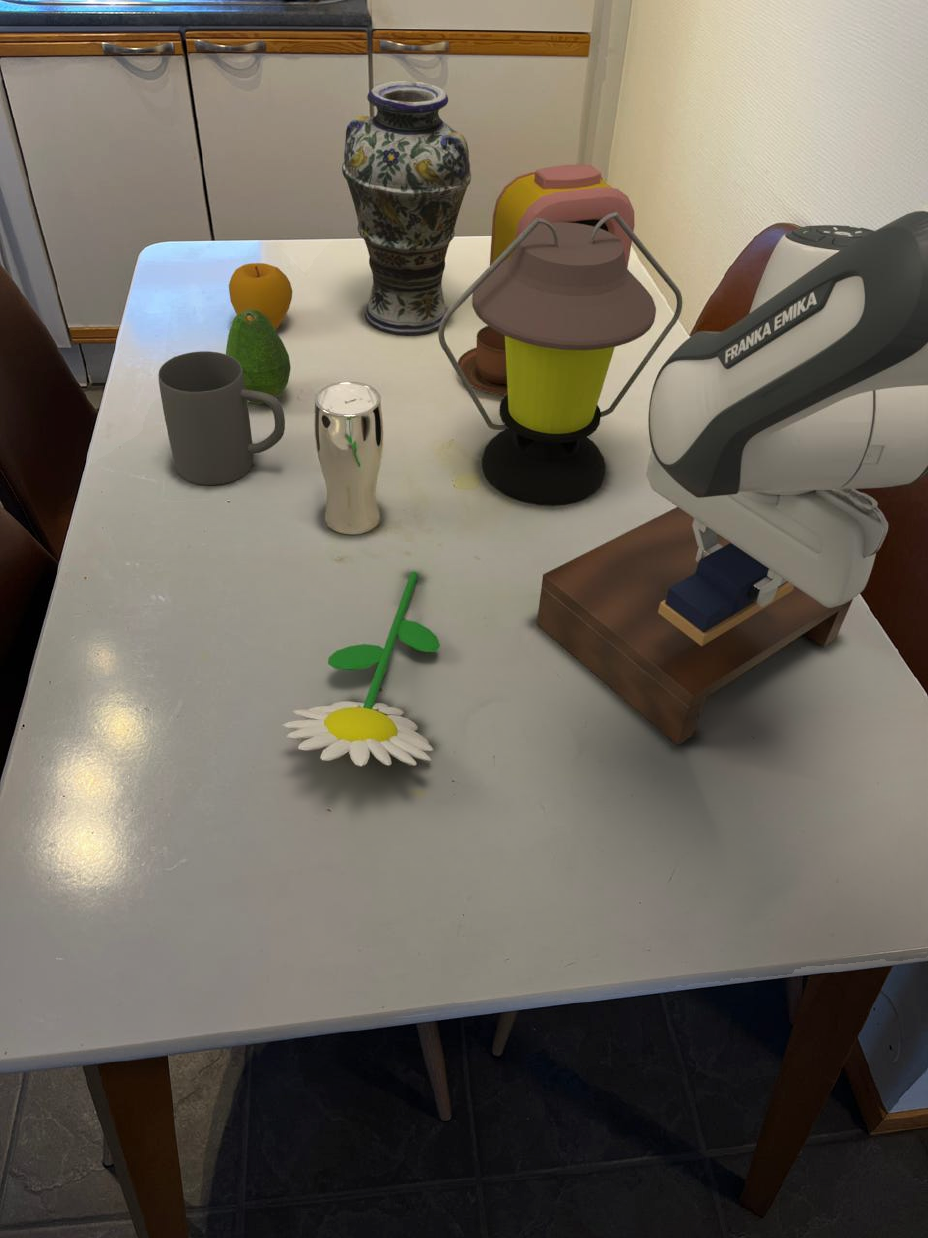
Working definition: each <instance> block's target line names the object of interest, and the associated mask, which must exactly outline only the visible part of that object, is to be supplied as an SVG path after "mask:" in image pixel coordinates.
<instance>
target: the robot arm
mask: <svg viewBox="0 0 928 1238" xmlns="http://www.w3.org/2000/svg"><path fill="white" fill-rule="evenodd" d="M647 421H648V436H649V437H648V438H649V442H650V446H651V451H650V454H649V459H648V464H647V468H646V477H647V481H648V483H649V486H650V489H651V490H652V491H654V492H655V493H657V494H658V495H659V496H661V497H663V498H664V499H665V500H667V501H668V502H669V503H671V504H673V505H674V506H676V507H679V508H680V509H682V510H683V511H685V512H686V513H688V514H689V515H691V516H692V517H693V518H694V521H693V524H692V526H693V530H694V534H695V537H696V541H697V545H698V546H699V548H698V552H697V556H696V561H697V562H699V560H700V559H702V558H704V557H706V556H707V555H709V554H711V553H713V552H715V551H717V550H718V549H720V548H722V547H723V546H721V545H720V544H719V543H718V536H717V534H719V535H720V536H722V537H723V538H725V539H726V540H727V541H729V542H730V543H732V544H733V545H735V546H736V547H738V548H739V549H741V550H742V551H744V552H745V553H747V554H748V555H750V556H751V557H753V558H754V559H756V560H757V561H758V562H760V563H761V564H763V565H764V566H766V567H767V568H769V571H768V574H767V576H768V577H769V578H768V577H767V576H764V577H763V578H761V579H760V580H759V581H756V582H754V583H752V585H751V588H750V593H749V594H748V598H749V599H750V600H752V601H753V602H754V603H756V604H757V605H759V606H760V607H764V606H765V605H767V604H768V603H770V602H771V601H772V600H773V599H774V597H775V594H776V591H777V589H778V587H779V586H780V585H782V584H784V583H785V582H787V581H788V582H790V583H791V584H792V585H794V586H795V587H797V588H798V589H800V590H801V591H803V592H804V593H806V594H807V595H809V596H810V597H812V598H813V599H815V600H816V601H817V602H819V603H820V604H822V605H823V606H825V607H828V608H832V607H836V606H840V605H843V604H845V603H847V602H849V601H850V600H852V599H853V600H854V599H855V598H856V597H858V596H859V595H860V594H861V593H862V592H863V591H864V590H865V588H866V587H867V584H868V582H869V579H870V575H871V574H872V570H873V567H874V563H875V559H876V556H877V553H878V552H879V550H881V547H882V545H883V542H884V541H885V539H886V536H887V534H888V532H889V531H888V530H889V522H888V521H887V518H886V517H885V515H884V513H883V512H882V510H881V509H879V507H878V505H879V504H878V501H877V500H876V499H875V498H873V497H872V496H870V495H869V494H867V493H866V492H861V491H859V490H860V489H861V490H863V489H882V488H883V489H885V488H893V487H899V486H909V485H912V484H914V483H916V482H917V481H918V480H920V479H921V478H923V477H924V476H925V475H926V474H927V473H928V203H927V204H925V205H923V206H921V207H919V208H917V209H916V210H914V211H913V212H909V213H906V214H904V215H902V216H900V217H899V218H896V219H894V220H892V221H891V222H889V223H887V224H885V225H884V226H882V227H879V228H878V229H876V230H874V229H871V228H870V229H869V228H865V227H856V226H850V225H837V224H835V225H833V224H832V225H831V224H823V225H821V224H820V225H819V224H818V225H806V226H801V227H799V228H798V227H797V228H795V229H793V230H791V231H788V232H786V233H785V234H783V235H782V237H781V238H780V239H779V241H778V242H777V244H776V245H775V247H774V249H773V251H772V253H771V254H770V257H769V259H768V261H767V264H766V266H765V269H764V271H763V273H762V276H761V279H760V281H759V284H758V287H757V289H756V292H755V294H754V298H753V300H752V304H751V306H750V310H749V313H748V314H747V315H745V316H744V317H743V318H741V319H740V320H738V321H737V322H736V323H734V324H733V325H731V326H730V327H728V328H726V329H724V330H723V331H711V330H710V331H709V330H707V331H706V330H699V331H695V333H693V335H690V337H688V338H687V339H686V340H685V341H683V342H682V343H681V344H680V345H679V346H678V347H677V349H675V350H674V351H673V352H672V353H671V354H670V356H669V357H668V359H667V360H666V361H665V362H664V363H663V364H662V366H661V368H660V369H659V371H658V373H657V375H656V377H655V379H654V383H653V385H652V390H651V394H650V398H649V405H648V420H647ZM858 489H859V490H858ZM770 578H771V579H773V580H771V579H770Z"/></svg>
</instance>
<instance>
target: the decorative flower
mask: <svg viewBox="0 0 928 1238" xmlns="http://www.w3.org/2000/svg"><path fill="white" fill-rule="evenodd" d="M418 577H419V573H418V572H417V571H411V572H410V574H409V577H408V579H407V582H406V586H405V588H404V591H403V594H402V596H401V600H400V602H399V604H398V608H397V611H396V613H395V616H394V619H393V621H392V625H391V627H390V631H389V632H388V636H387V639H386V641H385V644H384V647H382V646H381V645H376V644H367V643H364V644H355V645H350V646H347V647H344V648H341V649H338V650H336V651H334V652H333V653H332V654H331V655H330V656H329V657H328V660H327V665H328V666H330V667H331V668H333V669H335V670H341V671H358V670H363V669H364V670H365V669H367V668H370V667H373V666H376V665H377V667H376V669H375V672H374V675H373V678H372V681H371V684H370V687H369V689H368V692H367V695H366V698H365V701H364V702H359V701H357V702H355V701H350V700H347V701H338V702H333V703H332V704H331V705H318V706H314V707H310V708H309V709H295V710H293V711H292V712H293V713H294V714H295V715H297V716H299V717H301V718H303V719H298V720H292V721H287V722H286V723H285V722H284V724H282V726H283V727H285V728H286V729H292V730H293V731H291V732H289V733H288V734H287V736H286V738H290V739H294V740H295V739H296V740H303V741H302V742H301V743H300V744H299V745H298V746H297V748H298V750H301V751H316V750H320V749H323V750H322V752H321V755H320V757H319V758H320V759H321V760H322V761H328V762H330V761H333V760H336V759H339V758H341V757H343V756H344V755H346V754H347V753H349V757H350V760H351V761H352V762H353V764H354V765H355V766H358V767H363V766H366V765H367V764H368V762H369V760H370V756H371V754H372V756H374V758H376V760H378V761H379V762H380V763H381V764H382V765H385V766H391V765H392V758H391V756H392V757H393V758H395V759H397V760H398V761H400V762H402V763H403V764H406V765H409V766H413V767H414V766H417V761H416V760H415V759H419V760H421V761H424V762H432V759H431V756H429V755H428V754H427V753H426V752H429V753H430V752H433V751H434V750H435V749H434V748H433V747H432V745H431V744H430V743H429V741H428V740H427V739H426V737H424V736H422V734H420V733H418V732H417V731H418V726H417V724H416V723H415V722H414V721H412V720H410V719H409V718H407V717H404V714H405V712H404V711H403V710H402V709H401V708H398V707H395V706H389V705H388V704H386V703H382V702H377V703H376V699H377V696H378V693H379V691H380V688H381V685H382V682H383V680H384V676H385V673H386V670H387V667H388V665H389V662H390V659H391V656H392V653H393V650H394V647H395V645H396V641H397V638H398V639H399V640H400V641H401V642H402V643H404V644H405V645H407V646H409V647H410V648H412V649H414V650H416V651H420V652H425V653H435V652H438V650H439V648H440V647H441V643H440V641H439V639H438V636H437V635H436V634H435V633H434V632H433V631H432V630H431V629H430V628H428V627H426V626H425V625H423V624H421V623H419V622H418V621H413V620H408V619H404V618H405V615H406V612H407V609H408V607H409V604H410V602H411V598H412V594H413V592H414V590H415V586H416V583H417V580H418ZM304 739H305V740H304ZM414 758H415V759H414Z"/></svg>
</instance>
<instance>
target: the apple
mask: <svg viewBox="0 0 928 1238" xmlns="http://www.w3.org/2000/svg"><path fill="white" fill-rule="evenodd" d="M228 291H229V293H228V294H229V299H230V303H231V305H232V307H233V310H234V313H235V315H237V314H239V313H241V312H244V311H246V310H257V311H259V312H261V313H262V314H263V315H264V316H266V317H267V318H268V319H269V321H270V322H271V324H272V326H273V327H274V329H275V330H277V329H278V328H279V327H280V326H281V325H282V324H283V322H284V320H285V318H286V316H287V314H288V311H289V309H290V306H291V303H292V299H293V287H292V283H291V281H290V279H289V278H288V276H287V275H286V274H285V273H284V272H283V271H282V270H281V269H280V268H279V267H277V266H274V265H271V264H269V263H262V262H252V263H246V264H242V265H241V266H239V267H237V268H236V269H235V270H234V272H233V273H232V275H231V277H230V280H229V283H228Z"/></svg>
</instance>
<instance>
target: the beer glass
mask: <svg viewBox="0 0 928 1238" xmlns="http://www.w3.org/2000/svg"><path fill="white" fill-rule="evenodd" d="M381 400H382V399H381V394H380V393H379V391H378V390H377V389H376V388H374V387H373V386H370V385H368V384H366V383H362V382H357V381H338V382H334V383H333V382H332V383H329V384H328V385H325V386H323V387H322V388H320V389H319V390H318V391H317V392H316V394H315V395H314V440H315V441H314V442H315V449H316V454H317V458H318V462H319V465H320V469H321V473H322V476H323V480H324V484H325V490H326V504H325V510H324V521H325V523H326V525H327V526H328V528H329V529H331V530H333V531H334V532H337V533H338V534H342V535H348V536H349V535H351V536H353V535H355V536H356V535H361V534H365V533H368V532H370V531H372V530H374V529H375V528H376V527H377V526H378V525H379V523H380V521H381V513H380V508H379V504H378V500H377V483H378V478H379V473H380V467H381V462H382V457H383V456H382V455H383V449H384V422H383V412H382V403H381V402H382V401H381Z"/></svg>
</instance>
